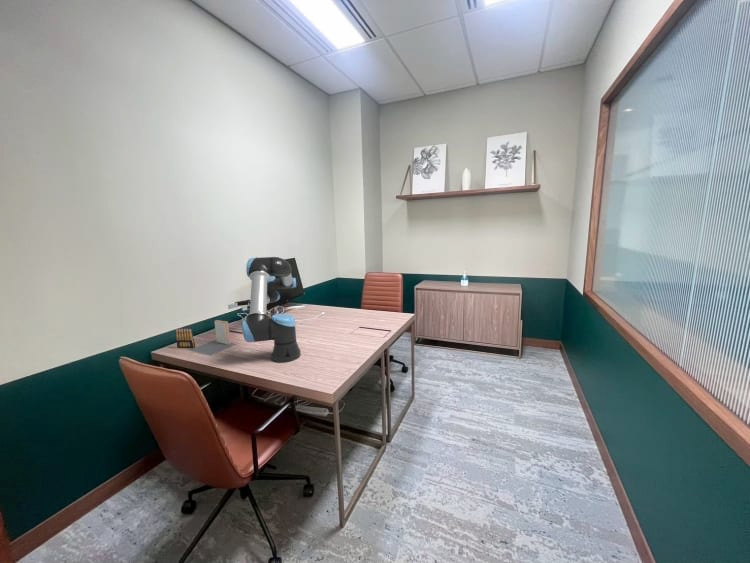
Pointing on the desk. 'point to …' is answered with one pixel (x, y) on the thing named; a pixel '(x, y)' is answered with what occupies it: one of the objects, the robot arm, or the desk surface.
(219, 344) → the rubber mat
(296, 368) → the desk surface
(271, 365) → the desk surface
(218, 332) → the pale rectangular block
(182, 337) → the ammunition clip
